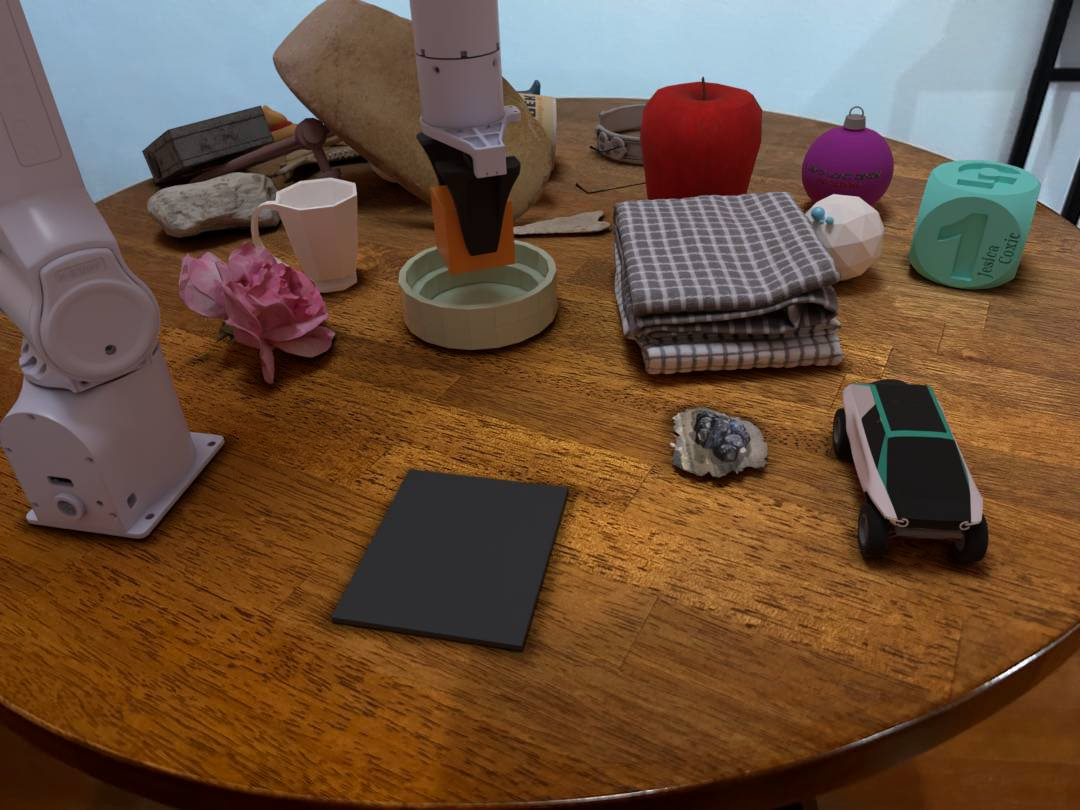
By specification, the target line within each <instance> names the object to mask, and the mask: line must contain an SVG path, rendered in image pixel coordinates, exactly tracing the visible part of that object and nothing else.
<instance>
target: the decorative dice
mask: <svg viewBox="0 0 1080 810" xmlns="http://www.w3.org/2000/svg"><path fill="white" fill-rule="evenodd" d="M1041 187H1042V183H1041V182H1040V181H1039V179H1038V178H1037V177H1036V176H1035V174H1033V173H1032V172H1030V171H1028V170H1026V169H1023V168H1021V167H1018V166H1016V165H1012V164H1008V163H1004V162H998V161H990V160H982V159H962V160H953V161H948V162H944V163H941V164H939V165H938V166H936V167H934V168H933V169H931V171H930V173H929V176H928V179H927V182H926V185H925V188H924V192H923V195H922V199H921V202H920V205H919V210H918V213H917V218H916V222H915V226H914V231H913V234H912V237H911V238H912V239H911V244H910V248H909V254H908V262H909V264H910V265H911V266H912V267H913V269H914V270H915V271H916V272H917V273H918V274H919V275H920V276H921V277H923V278H925V279H927V280H928V281H931V282H933V283H935V284H940V285H942V286H946V287H951V288H956V289H963V290H988V289H994V288H997V287H1001V286H1002V285H1005V284H1006V283H1008V282H1010V281H1012V280H1014V279H1015V277H1016V275H1017V272H1018V269H1019V266H1020V263H1021V259H1022V257H1023V253H1024V250H1025V247H1026V243H1027V240H1028V237H1029V233H1030V230H1031V226H1032V222H1033V219H1034V215H1035V212H1036V208H1037V204H1038V200H1039V196H1040V191H1041Z"/></svg>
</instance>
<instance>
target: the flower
mask: <svg viewBox="0 0 1080 810" xmlns="http://www.w3.org/2000/svg"><path fill="white" fill-rule="evenodd" d="M265 248H266V247H265ZM265 248H256V247H255V245H254V244H253V243H252V242H251V241H244V242H243V243H242V244H240V245H238V246H236V247H235V248H233V250H232V251H231V252H230V255H229V257H228V258H227V262H225V261H224V260H222V259H221V258H219V257H218V256H217V255H215V254H214V253H212V252H210V251H204V252H203V253H201V254H200V255H198V256H197V257H193V256H191V255H190V253H188V252H187V253H186V254H185V255H184V256H183V257H182V258H181V268H180V273H179V279H178V294H179V295H178V297H179V301H180V302H182V303H184V304H185V305H186V306H187V308H189V309H190V310H192V311H194V312H195V313H196V314H198V315H199V316H200V317H202V318H211V319H220V320H222V322H221V325H220V326H219V329H218V333H217V338H216V342H214V343H213V345H212V346H211V347H210V349H208V350H206V351H205V352H203V353H202V354H201V355H199V356H198V357H196V358H195V360H196V361H198V360H199V359H201V357H203V356H204V355H206V354H207V352H208V351H210V350H211V349H212V348H213V347H215V345H216V344H218V343H219V342H221V341H222V340H224V339H226V338H228V337H229V338H230V340H231V341H230V343H229V345H228V346H230V345H232V344H234V343H236V342H237V344H241V345H245V346H247V347H250V348H254V349H257V350H259V358H260V362H261V371H262V376H263V379H264V381H265V382H266V383H267V384H269V385H271V384H272V385H273V384H274V379H275V370H276V369H275V358H274V353H273V351H274V350H275V349H279V350H281V351H282V352H284V353H286V354H287V353H288V354H292V355H295V356H299V357H305V358H314V357H317V356H319V355H321V354H323V353H325V352H327V351H328V350H329V349H330V348H332V344H333V343H332V340H334V337H335V335H336V332H335V331H333V330H332V329H330V328H328V327H325V326H321V325H320V324H324V323H327V320H328V319H329V318H330V313H329V312H328V311H327V306H326V301H325V300H323V296H322V295H321V294H322V292H319V289H318V288H317V287H316V286H315V284H314V282H313V281H311V280H310V279H309V278H308V277H307V276H306V275H305V273H304V272H303V271H300V270H299V269H296V268H294V267H292V266H290V265H288V266H286V265H285V264H286V263H285V264H283V263H282V262H283V261H282V262H281V263H279V264H278V263H277V261H276V259H275V258H274V256H275V255H274V254H272V252H271V251H269V249H267V248H266V249H265ZM273 255H274V256H273Z"/></svg>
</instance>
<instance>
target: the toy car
mask: <svg viewBox="0 0 1080 810" xmlns="http://www.w3.org/2000/svg"><path fill="white" fill-rule="evenodd" d="M841 394H842V406H843V407H840V408H837V409H836V410H835V413H834V417H833V421H832V422H833V423H832V443H833V444H832V445H833V449H834V451H835V452H836V453H837V454H841V455H850V454H851V455H852V459H853V464H854V467H855V470H856V474H857V477H858V481H859V484H860V486H861V490H862V493H863V496H864V500H865V503H864V504H863V505H862V506H861V508H860V510H859V513H858V519H857V539H858V540H857V541H858V547H859V549H860V552H861V554H862V555H863V556H865V557H870V558H880V557H881V558H882V557H884V556H885V555H886V554H887V552H888V548H889V544H890V539H892V538H895V537H898V536H899V537H900V536H901V537H902V538H910V539H911V538H913V539H931V540H946V539H947V540H949V541H950V544H951V548H952V549H951V550H952V552H953V555H954V557H955V558H956V559H957V560H958V561H961V562H964V563H978V562H981V561H983V559H984V558H985V556H986V554H987V552H988V547H989V526H988V523H987V519H986V517H985V514H984V513H983V512H984V499H983V496H982V494H981V493H980V491H979V488H978V487H977V485H976V483H975V481H974V478H973V477H972V474H971V472H970V469H969V467H968V465H967V463H966V460H965V458H964V455H963V454H962V451H961V449H960V447H959V444H958V442H957V440H956V438H955V436H954V433H953V431H952V429H951V427H950V424H949V423H948V421H947V416H946V412H945V410H944V407H943V406H942V403H941V402H940V400H939V399H938V397H937V395H936V393H935V391H934V390H933V388H932V385H931V386H930V385H927V384H919V383H914V384H913V383H908V382H906V381H903V380H900V379H894V378H883V379H879V380H875V381H872V382H870V383H869V382H852V383H850V384H849V385H847V386H846V387H844V388H843V390H842V393H841Z"/></svg>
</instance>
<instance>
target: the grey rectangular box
mask: <svg viewBox="0 0 1080 810" xmlns="http://www.w3.org/2000/svg"><path fill="white" fill-rule="evenodd" d="M262 107H263V106H262V105H257V106H253V107H249V108H245V109H241V110H237V111H234V112H230V113H226V114H223V115H219V116H215V117H211V118H207V119H204V120H203V119H202V120H199V121H196V122H192V123H188V124H185V125H180V126H176V127H172V128H169V129H167V130H165V131H164V132H163V133H162V134H160V135H159V136H158V137H157V138H155V140H153V141H152V142H151V143H150V144H149V145H147V146H145V148H144V149H142V150H141V153H142V155H143V157H144V160H145V162H146V165H147V167H148V169H149V171H150V174H151V176H152V179H153V181H154V184H159V183H162V182H165V181H170V180H172V179H176V178H179V177H183V176H186V175H187V176H188V175H190V174H193V173H196V172H200V171H201V172H202V171H203V170H207V169H212V168H215V167H217V166H220V165H222V164H224V163H227V162H229V161H231V160H234V159H236V158H238V157H241V156H243V155H246V154H248V153H251V152H253V151H256V150H258V149H261V148H263V146H265V145H267V144H269V143H272V142H274V139H273V136H272V133H271V131H270V128H269V125H268V123H267V120H266V117H265V115H264V112H263V110H262Z"/></svg>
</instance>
